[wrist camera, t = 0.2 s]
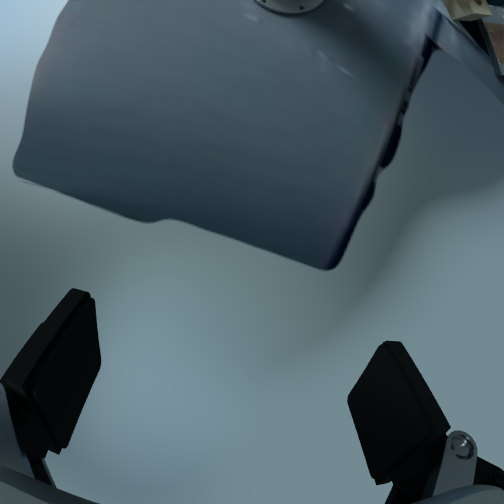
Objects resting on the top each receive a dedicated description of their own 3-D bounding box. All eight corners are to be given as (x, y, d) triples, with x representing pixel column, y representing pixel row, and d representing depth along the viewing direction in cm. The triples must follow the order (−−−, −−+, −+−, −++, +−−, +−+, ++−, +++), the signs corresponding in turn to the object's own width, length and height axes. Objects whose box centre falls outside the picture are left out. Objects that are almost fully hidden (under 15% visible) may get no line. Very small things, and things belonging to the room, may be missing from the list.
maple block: (439, -7, 29) (460, -17, 22) (458, -5, 28) (479, -13, 21) (451, 20, 31) (474, 13, 24) (470, 21, 30) (492, 15, 24)
